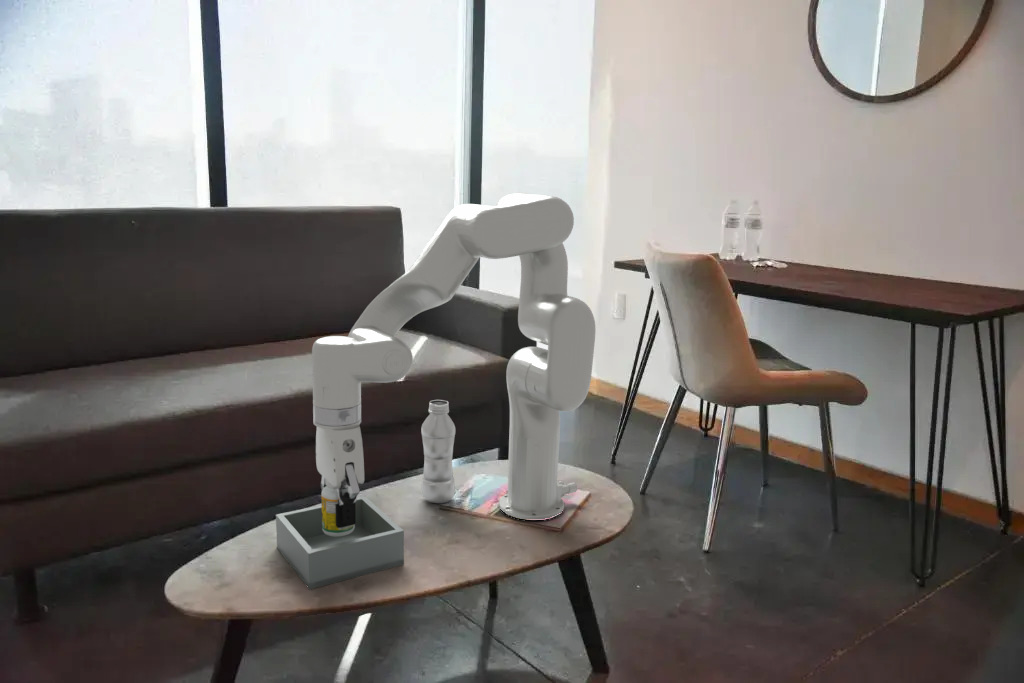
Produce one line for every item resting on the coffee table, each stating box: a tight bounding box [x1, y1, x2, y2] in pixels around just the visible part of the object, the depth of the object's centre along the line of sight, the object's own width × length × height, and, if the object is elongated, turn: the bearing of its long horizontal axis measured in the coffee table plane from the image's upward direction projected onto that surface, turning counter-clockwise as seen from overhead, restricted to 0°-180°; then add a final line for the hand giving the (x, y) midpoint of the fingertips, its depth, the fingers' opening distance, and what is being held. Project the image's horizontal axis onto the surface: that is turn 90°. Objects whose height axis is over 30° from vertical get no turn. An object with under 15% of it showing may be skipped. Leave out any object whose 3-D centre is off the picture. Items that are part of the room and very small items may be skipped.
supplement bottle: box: [320, 479, 355, 537], centre depth 133 cm, size 5×5×10 cm
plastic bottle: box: [420, 399, 456, 504], centre depth 157 cm, size 6×7×20 cm
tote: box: [275, 495, 405, 590], centre depth 135 cm, size 16×16×6 cm
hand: (338, 517), depth 134 cm, fingers closed on supplement bottle, 5 cm apart
